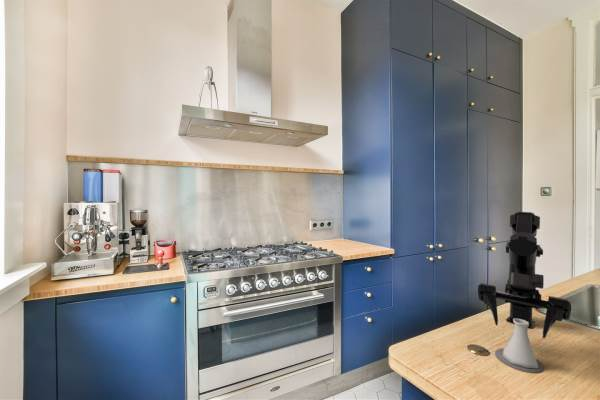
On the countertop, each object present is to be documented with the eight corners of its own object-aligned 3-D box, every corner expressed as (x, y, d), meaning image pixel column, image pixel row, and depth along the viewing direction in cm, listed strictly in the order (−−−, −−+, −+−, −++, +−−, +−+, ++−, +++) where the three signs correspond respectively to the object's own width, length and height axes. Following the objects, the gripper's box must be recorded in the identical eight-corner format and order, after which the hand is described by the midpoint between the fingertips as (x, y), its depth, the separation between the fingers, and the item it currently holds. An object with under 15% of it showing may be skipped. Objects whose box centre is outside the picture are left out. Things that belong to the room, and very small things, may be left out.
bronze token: (471, 343, 77) (471, 342, 77) (491, 351, 73) (491, 350, 73) (464, 349, 73) (464, 348, 73) (485, 358, 70) (485, 357, 69)
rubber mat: (501, 345, 75) (501, 344, 75) (546, 362, 68) (546, 361, 68) (489, 358, 69) (489, 357, 69) (538, 378, 62) (538, 377, 62)
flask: (508, 365, 66) (509, 325, 66) (497, 349, 73) (498, 313, 73) (544, 372, 64) (546, 330, 64) (530, 355, 71) (531, 317, 70)
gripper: (479, 254, 77) (472, 304, 69) (572, 267, 65) (576, 329, 57) (482, 276, 83) (475, 324, 75) (567, 290, 71) (570, 350, 63)
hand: (519, 330), depth 67 cm, fingers open, 9 cm apart
